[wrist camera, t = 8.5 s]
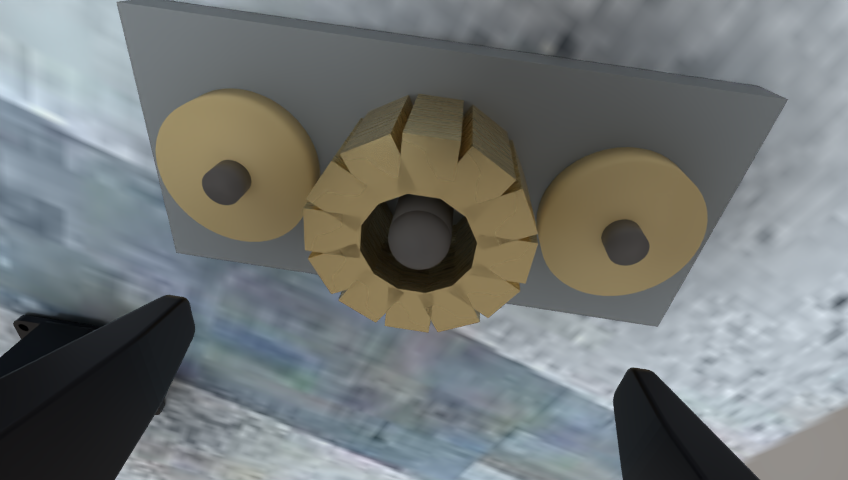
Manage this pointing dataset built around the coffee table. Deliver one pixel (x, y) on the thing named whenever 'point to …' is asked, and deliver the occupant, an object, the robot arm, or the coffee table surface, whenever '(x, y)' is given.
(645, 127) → the gear board
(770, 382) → the coffee table surface
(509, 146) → the brass gear
